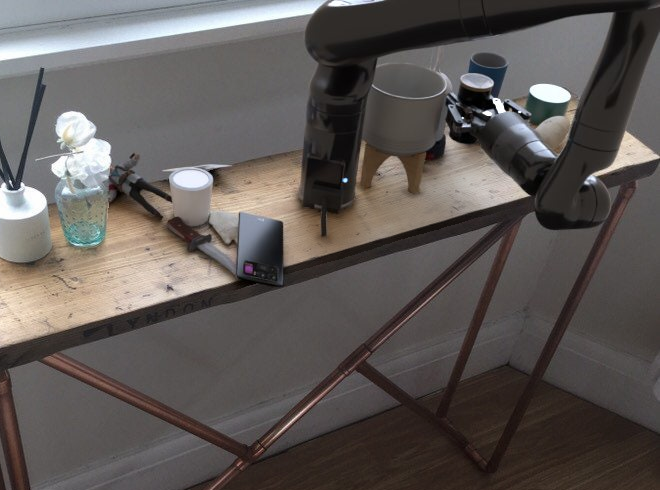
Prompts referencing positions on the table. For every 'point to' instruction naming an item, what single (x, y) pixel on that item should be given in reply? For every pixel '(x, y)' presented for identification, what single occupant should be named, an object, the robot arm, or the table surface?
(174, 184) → the white cylinder
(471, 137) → the tall tin
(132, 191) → the action figure
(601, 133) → the robot arm
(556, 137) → the stone
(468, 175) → the table surface
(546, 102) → the squat tin
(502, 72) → the cup
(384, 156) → the planter
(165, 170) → the diorama
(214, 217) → the arrowhead
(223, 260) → the knife
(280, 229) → the smartphone
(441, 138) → the white tall piece
